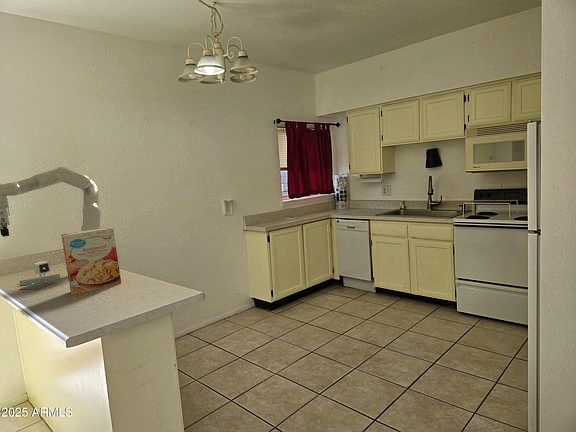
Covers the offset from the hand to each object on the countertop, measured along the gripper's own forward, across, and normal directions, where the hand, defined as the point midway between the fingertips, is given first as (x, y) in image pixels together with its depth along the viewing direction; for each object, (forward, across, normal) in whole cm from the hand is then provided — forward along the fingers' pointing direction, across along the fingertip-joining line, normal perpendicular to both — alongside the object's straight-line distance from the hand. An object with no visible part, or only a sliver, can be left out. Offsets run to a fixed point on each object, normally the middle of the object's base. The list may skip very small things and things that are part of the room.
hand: (5, 235), depth 220 cm
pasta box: (+29, -55, -31) cm, 69 cm away
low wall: (+29, -8, -12) cm, 33 cm away
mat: (+29, -18, -10) cm, 36 cm away
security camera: (+30, +2, -15) cm, 33 cm away
